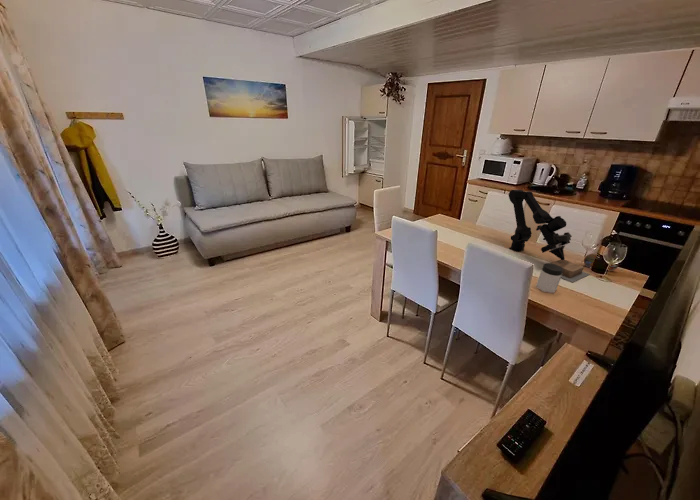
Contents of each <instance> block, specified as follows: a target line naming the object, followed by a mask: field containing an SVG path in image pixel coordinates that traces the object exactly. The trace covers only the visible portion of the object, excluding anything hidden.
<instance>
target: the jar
mask: <svg viewBox="0 0 700 500" xmlns="http://www.w3.org/2000/svg"><path fill="white" fill-rule="evenodd" d="M551 263H552V262H551ZM551 263H550V262H549V263H547V262H546V263H543V265H542V268H541V270H540V272H539V276H538V279H537V282H536V285H535V287H536V288H537V289H539V290H540V291H542V292H543V293H544V292H545V293H549V294H554V293H555V292H556V291H557V289H558V287H559V285H560V281H561V279H562V278H561V276H562V273H563V268H562V267H560V266H558V265H556V264H551Z"/></svg>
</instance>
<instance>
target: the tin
mask: <svg viewBox="0 0 700 500" xmlns="http://www.w3.org/2000/svg"><path fill="white" fill-rule="evenodd" d="M597 254H598V253H590V254H587V255H585V257H584V259H583V263H584V265H585V267H587V268H588V267H592V265H593V262H594V260H595V258H596V256H597ZM619 265H620V264H619V262H618V264H617V265H611V266H610V268H609V271H608V272H612V271H615V270H616V269H618V267H619Z"/></svg>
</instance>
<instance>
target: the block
mask: <svg viewBox="0 0 700 500" xmlns="http://www.w3.org/2000/svg"><path fill="white" fill-rule="evenodd" d="M551 264H556V265H558V266H560V267H562V268H563V273H562V275H563V276H565V277H568V278H572V277H574V276H577V275H579V274H581V273H582V271H583V272H584V268H585V267H584V266H583V265H580V264H577V263H574V262H572V261H569V260H566V259H564V260H561V259H559V260H556V261H553V262H551Z"/></svg>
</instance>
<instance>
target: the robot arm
mask: <svg viewBox="0 0 700 500" xmlns="http://www.w3.org/2000/svg"><path fill="white" fill-rule="evenodd" d="M533 193H534V192H532V191H527V190H525V191H524V190H523V189H511V190H510V191H509V192H508V199H509V201H510V203H511V204H512V205H513V210H514V215H515V216H514V217H515V222H516V228H515V231H514V234H513V235H511V236H510V240H511V241H512V242H511V244H510V245H511V246H510V247H509V250H512V251H514V252H516V253H521V252H523V251H525V246H526V244H525V243H528V241H529V240H530V239H531V237H532V234H533V233H532V228H531V227H529V226H527V224H526V223H527V222H526V216H525V211H524V205H523V203H524V201H525V203H526V205H527V206H528V208H529V209H530V211H531V212H532V218H533V221H534V223H535V224H537V226H536V229H535V231H539V232H540V234H541V235H542V236H543V239H542V240H543V241H545V242H546V243H547V245H545V246H543V247H541V248H540V251H541V253H546V252H549V253H551V254H553V255H554V256H556V257H557V258H558V259H559V260H566V259H565V253H564V248H565V247H566V245H568V244H571V240H572V239H571V238H572V235H571V233H570V232H569V231H568V232H564V233H563V234H559V233H558V232H557V231H559V230H561V229H563V228H565V227H567V221H566V220H565V219H564V218H562V217H561V215H556V216H554V217H552V216H551V214H550V213H549V212H547V210H544V209H543V208H542V207H541V205H540V203H539V202H538V200H537V199H536V198H535V196H534V194H533Z"/></svg>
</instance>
